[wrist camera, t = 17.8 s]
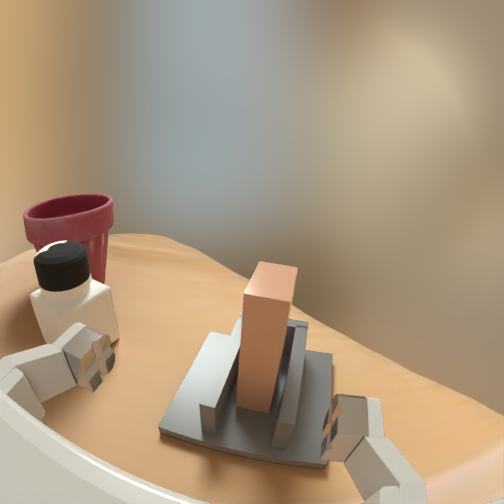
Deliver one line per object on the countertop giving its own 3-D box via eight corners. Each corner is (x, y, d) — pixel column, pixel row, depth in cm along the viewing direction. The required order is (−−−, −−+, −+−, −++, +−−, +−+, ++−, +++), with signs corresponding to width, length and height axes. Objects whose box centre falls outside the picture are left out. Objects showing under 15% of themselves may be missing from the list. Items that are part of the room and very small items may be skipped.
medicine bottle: (121, 337, 32) (104, 243, 27) (80, 371, 25) (48, 271, 21) (84, 316, 34) (66, 230, 29) (45, 344, 28) (16, 252, 23)
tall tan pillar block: (235, 406, 24) (243, 293, 19) (248, 368, 28) (259, 261, 23) (269, 413, 23) (290, 301, 18) (278, 374, 28) (297, 267, 23)
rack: (159, 432, 21) (150, 399, 19) (210, 338, 34) (210, 302, 32) (323, 468, 19) (342, 441, 17) (330, 360, 31) (341, 326, 29)
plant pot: (75, 257, 49) (67, 190, 43) (135, 270, 47) (130, 194, 42) (24, 293, 36) (6, 215, 30) (85, 317, 34) (67, 224, 29)
